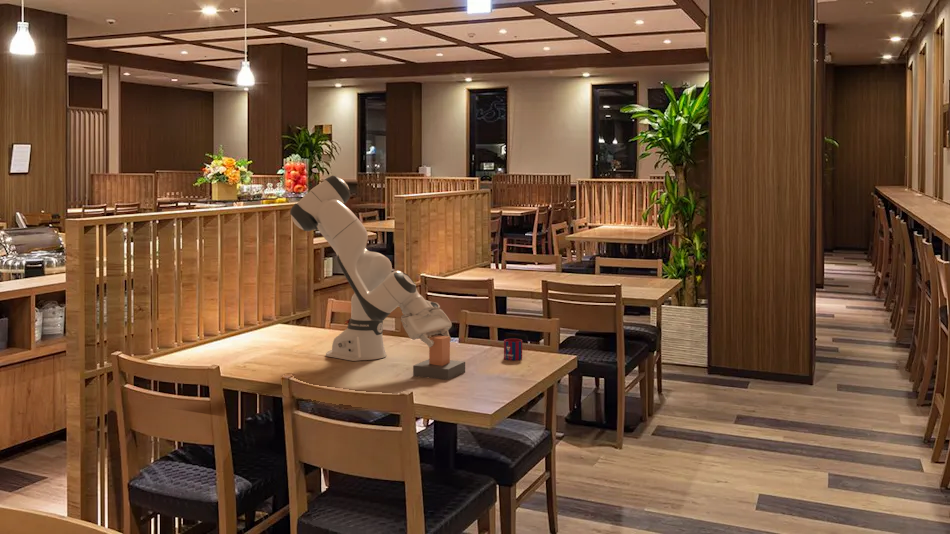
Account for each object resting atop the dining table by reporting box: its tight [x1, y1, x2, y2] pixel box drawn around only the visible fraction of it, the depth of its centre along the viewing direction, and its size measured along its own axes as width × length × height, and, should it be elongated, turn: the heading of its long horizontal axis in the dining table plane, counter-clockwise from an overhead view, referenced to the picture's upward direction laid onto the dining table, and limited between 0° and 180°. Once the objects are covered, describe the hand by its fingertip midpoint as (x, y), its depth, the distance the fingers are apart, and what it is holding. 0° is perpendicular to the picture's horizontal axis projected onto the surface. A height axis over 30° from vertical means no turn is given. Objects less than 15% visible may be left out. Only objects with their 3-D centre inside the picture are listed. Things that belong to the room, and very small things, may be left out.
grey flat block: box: [412, 358, 466, 381], centre depth 292 cm, size 13×13×4 cm
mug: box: [503, 338, 523, 362], centre depth 318 cm, size 7×10×7 cm
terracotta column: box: [428, 334, 451, 366], centre depth 292 cm, size 5×5×9 cm
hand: (440, 343), depth 291 cm, fingers open, 8 cm apart
